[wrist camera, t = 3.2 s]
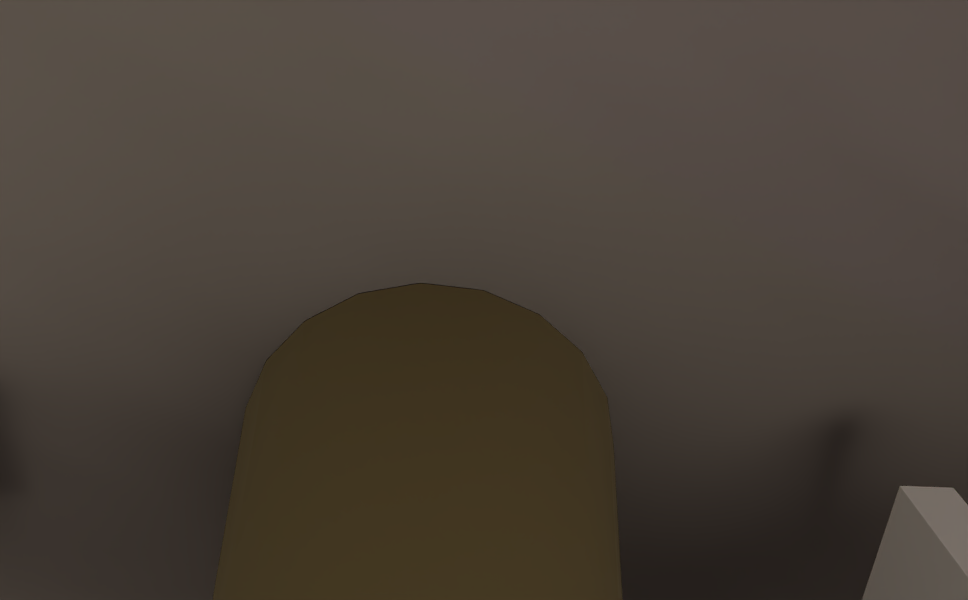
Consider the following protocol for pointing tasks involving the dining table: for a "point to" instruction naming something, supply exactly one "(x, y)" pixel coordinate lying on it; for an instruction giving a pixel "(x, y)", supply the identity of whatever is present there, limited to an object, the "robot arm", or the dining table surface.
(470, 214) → the dining table surface
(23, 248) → the dining table surface
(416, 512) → the cork
